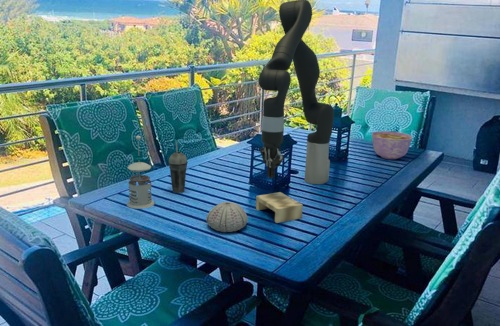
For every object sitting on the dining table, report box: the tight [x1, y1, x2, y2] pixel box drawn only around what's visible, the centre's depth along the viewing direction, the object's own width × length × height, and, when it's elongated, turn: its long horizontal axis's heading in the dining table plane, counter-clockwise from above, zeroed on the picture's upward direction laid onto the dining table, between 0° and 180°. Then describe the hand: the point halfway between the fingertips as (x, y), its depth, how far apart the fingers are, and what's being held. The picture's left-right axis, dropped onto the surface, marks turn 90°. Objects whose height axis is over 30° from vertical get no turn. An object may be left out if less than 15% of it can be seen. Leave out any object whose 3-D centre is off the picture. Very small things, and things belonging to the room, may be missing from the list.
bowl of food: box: [371, 130, 413, 160], centre depth 242 cm, size 20×20×12 cm
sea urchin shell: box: [205, 201, 249, 233], centre depth 153 cm, size 13×14×8 cm
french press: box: [126, 135, 155, 210], centre depth 168 cm, size 10×12×25 cm
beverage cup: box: [168, 141, 189, 194], centre depth 182 cm, size 7×7×20 cm
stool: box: [255, 191, 304, 224], centre depth 165 cm, size 10×5×14 cm
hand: (270, 177), depth 167 cm, fingers closed
